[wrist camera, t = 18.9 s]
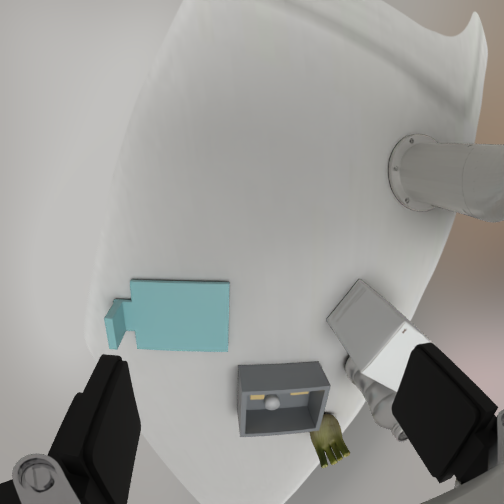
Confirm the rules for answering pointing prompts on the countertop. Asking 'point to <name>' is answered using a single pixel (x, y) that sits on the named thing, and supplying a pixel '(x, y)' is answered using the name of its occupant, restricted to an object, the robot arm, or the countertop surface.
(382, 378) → the supplement box
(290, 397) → the tub
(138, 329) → the lid
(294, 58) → the countertop surface
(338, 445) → the fennel bulb
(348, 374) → the plastic bottle
